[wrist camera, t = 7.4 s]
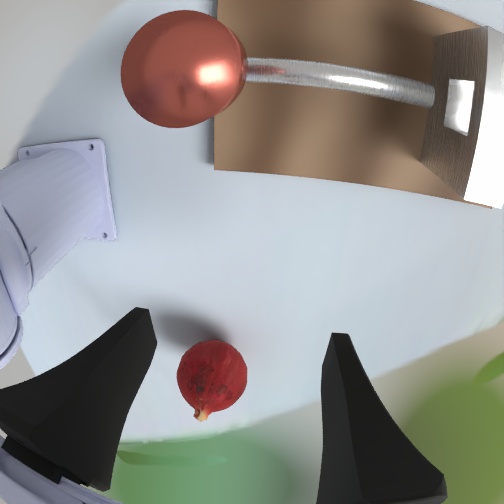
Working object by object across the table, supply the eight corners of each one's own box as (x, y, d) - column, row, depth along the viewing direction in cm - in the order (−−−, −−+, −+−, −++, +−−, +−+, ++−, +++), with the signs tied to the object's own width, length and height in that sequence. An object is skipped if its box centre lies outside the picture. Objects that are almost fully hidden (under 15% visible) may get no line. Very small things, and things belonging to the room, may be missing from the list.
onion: (187, 316, 26) (156, 391, 19) (253, 324, 26) (237, 406, 19) (194, 358, 29) (171, 427, 23) (252, 366, 29) (239, 439, 22)
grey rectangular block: (419, 161, 16) (463, 199, 11) (434, 36, 12) (488, 25, 7) (451, 169, 16) (500, 208, 11) (467, 48, 12) (527, 47, 7)
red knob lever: (183, 108, 16) (122, 130, 10) (184, 36, 14) (121, 20, 8) (401, 128, 15) (456, 161, 9) (409, 56, 13) (471, 49, 7)
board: (217, 166, 19) (214, 169, 18) (222, -18, 13) (218, -22, 12) (486, 204, 17) (491, 208, 17) (511, 45, 11) (518, 45, 10)
